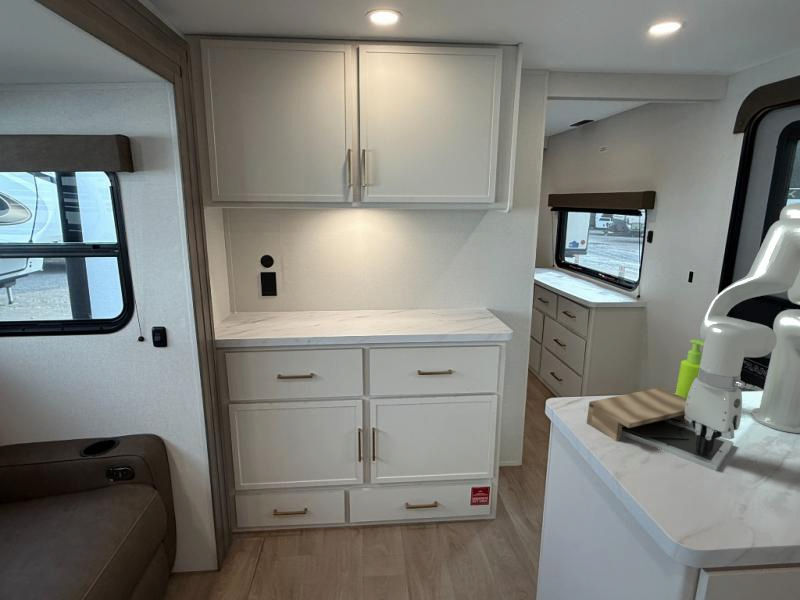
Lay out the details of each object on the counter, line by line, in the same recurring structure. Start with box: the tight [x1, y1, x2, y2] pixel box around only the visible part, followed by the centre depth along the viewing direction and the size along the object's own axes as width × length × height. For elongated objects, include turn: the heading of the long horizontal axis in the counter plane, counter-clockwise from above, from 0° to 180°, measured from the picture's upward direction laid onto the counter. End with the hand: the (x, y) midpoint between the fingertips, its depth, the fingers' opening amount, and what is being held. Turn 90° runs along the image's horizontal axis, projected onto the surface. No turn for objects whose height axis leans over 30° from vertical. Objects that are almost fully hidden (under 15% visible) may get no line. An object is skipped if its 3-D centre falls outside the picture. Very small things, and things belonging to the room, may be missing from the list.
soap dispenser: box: [675, 339, 704, 399], centre depth 131 cm, size 6×7×20 cm
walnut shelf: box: [586, 387, 689, 442], centre depth 121 cm, size 27×12×6 cm, turn 113°
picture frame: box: [621, 419, 734, 472], centre depth 114 cm, size 16×3×21 cm
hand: (703, 451), depth 106 cm, fingers closed
